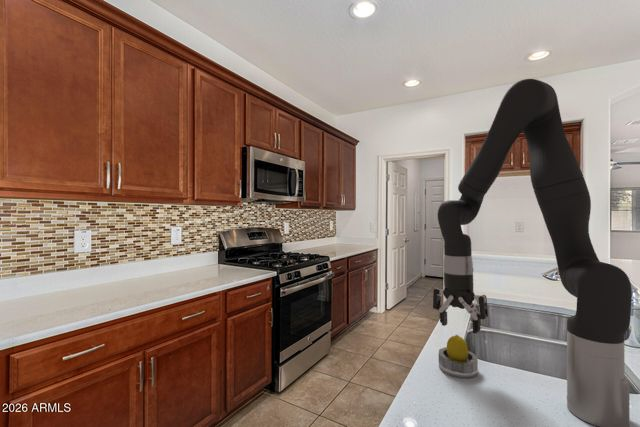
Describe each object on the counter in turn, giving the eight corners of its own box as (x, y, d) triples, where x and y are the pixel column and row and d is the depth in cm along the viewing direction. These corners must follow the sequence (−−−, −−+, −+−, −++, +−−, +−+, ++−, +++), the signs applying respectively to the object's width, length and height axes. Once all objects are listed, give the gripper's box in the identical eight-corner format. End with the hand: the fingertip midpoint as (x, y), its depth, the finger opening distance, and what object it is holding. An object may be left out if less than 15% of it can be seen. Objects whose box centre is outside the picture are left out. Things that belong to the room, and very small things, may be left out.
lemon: (465, 370, 81) (464, 340, 81) (443, 364, 85) (443, 335, 85) (471, 363, 85) (470, 334, 86) (450, 357, 89) (450, 329, 89)
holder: (476, 364, 88) (476, 350, 88) (478, 381, 79) (478, 366, 79) (439, 358, 92) (439, 344, 92) (437, 373, 83) (437, 358, 83)
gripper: (427, 270, 88) (429, 326, 88) (480, 276, 78) (482, 339, 78) (439, 266, 94) (440, 319, 94) (490, 272, 83) (491, 331, 83)
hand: (459, 328), depth 86 cm, fingers open, 8 cm apart
